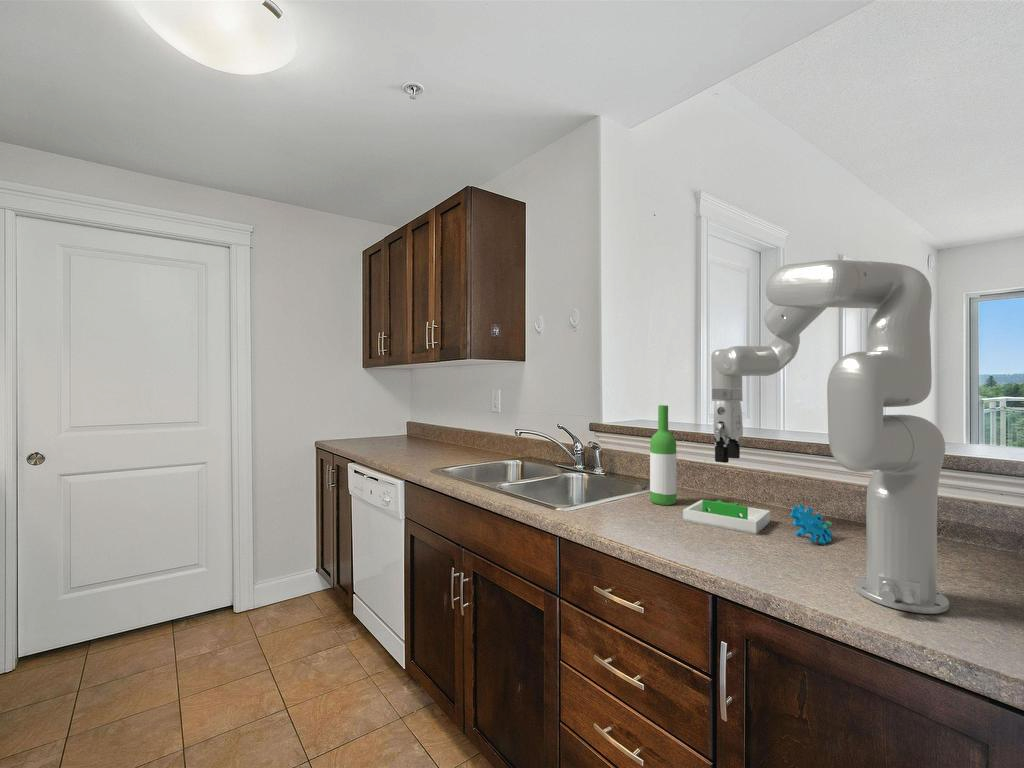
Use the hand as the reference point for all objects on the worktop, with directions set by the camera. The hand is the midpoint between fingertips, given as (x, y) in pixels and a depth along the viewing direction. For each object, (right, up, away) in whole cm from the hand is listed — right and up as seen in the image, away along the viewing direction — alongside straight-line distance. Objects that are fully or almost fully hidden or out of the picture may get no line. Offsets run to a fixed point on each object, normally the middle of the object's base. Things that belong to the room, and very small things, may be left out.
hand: (727, 460), depth 128 cm
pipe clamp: (0, -16, 0) cm, 16 cm away
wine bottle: (-11, -17, +20) cm, 28 cm away
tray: (0, -17, +1) cm, 17 cm away
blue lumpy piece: (+14, -17, -14) cm, 26 cm away
